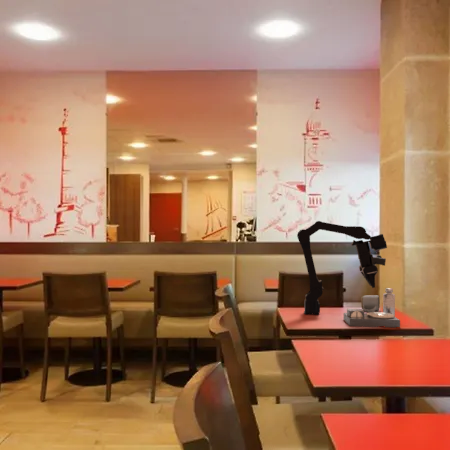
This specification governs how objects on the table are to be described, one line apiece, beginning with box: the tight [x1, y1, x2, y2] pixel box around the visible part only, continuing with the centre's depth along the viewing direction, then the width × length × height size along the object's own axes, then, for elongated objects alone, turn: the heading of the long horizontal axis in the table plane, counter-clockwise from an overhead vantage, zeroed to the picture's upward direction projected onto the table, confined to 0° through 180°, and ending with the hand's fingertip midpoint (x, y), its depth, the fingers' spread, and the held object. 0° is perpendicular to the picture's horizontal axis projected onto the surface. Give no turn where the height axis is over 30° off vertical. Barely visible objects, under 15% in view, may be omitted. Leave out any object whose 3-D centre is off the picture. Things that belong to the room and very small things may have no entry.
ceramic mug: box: [360, 294, 381, 313], centre depth 246 cm, size 11×8×8 cm
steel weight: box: [382, 287, 396, 317], centre depth 223 cm, size 5×5×14 cm
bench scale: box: [343, 308, 401, 328], centre depth 211 cm, size 20×15×6 cm
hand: (372, 286), depth 230 cm, fingers open, 9 cm apart
